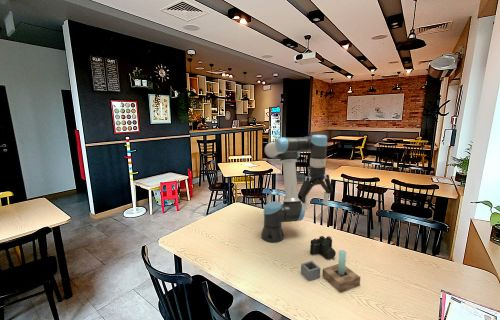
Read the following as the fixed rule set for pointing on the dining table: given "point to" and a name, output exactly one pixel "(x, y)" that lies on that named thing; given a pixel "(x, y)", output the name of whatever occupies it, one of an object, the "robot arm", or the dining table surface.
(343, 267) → the dowel
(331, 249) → the camera
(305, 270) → the pen cup
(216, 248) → the dining table surface
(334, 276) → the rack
